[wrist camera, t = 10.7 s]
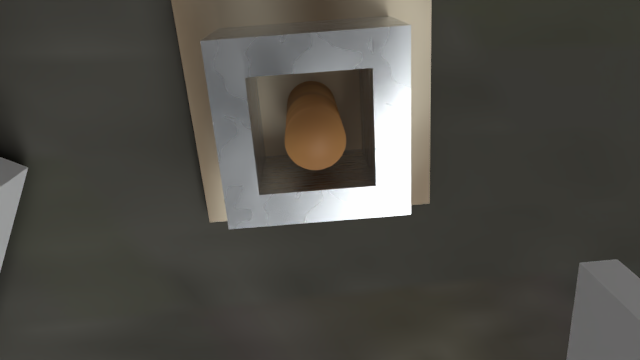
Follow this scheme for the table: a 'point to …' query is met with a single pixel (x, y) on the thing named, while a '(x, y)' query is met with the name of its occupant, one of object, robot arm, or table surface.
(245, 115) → the link
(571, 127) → the table surface
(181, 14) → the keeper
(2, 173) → the bracket
